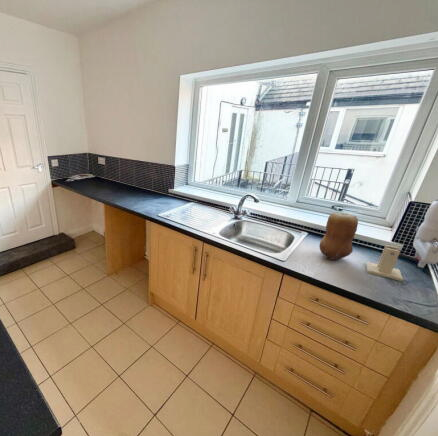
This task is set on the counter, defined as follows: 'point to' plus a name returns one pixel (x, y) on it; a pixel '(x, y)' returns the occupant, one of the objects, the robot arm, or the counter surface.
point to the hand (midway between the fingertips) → (418, 263)
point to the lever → (409, 257)
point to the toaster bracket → (386, 264)
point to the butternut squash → (339, 235)
